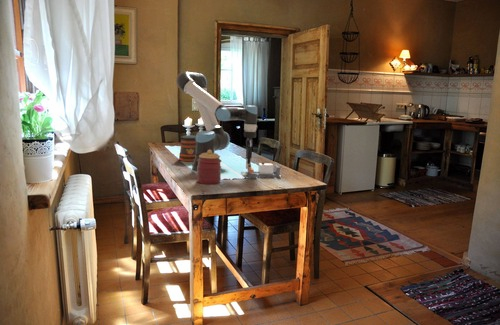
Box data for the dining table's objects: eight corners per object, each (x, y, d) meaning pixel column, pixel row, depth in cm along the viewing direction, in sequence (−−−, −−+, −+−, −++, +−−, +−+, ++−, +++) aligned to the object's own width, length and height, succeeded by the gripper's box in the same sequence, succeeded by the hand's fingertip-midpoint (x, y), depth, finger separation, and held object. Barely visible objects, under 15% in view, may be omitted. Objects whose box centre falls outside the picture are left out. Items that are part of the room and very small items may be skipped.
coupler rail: (244, 178, 221) (245, 169, 220) (241, 172, 236) (241, 163, 235) (281, 179, 224) (282, 169, 223) (276, 173, 239) (276, 164, 238)
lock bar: (250, 174, 226) (250, 167, 225) (247, 170, 238) (247, 163, 237) (253, 174, 226) (253, 168, 226) (250, 170, 238) (250, 164, 237)
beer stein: (203, 157, 279) (204, 130, 275) (208, 161, 265) (209, 132, 262) (177, 158, 273) (178, 130, 269) (180, 162, 259) (181, 132, 255)
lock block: (259, 174, 230) (260, 163, 229) (258, 172, 235) (258, 161, 234) (272, 175, 231) (273, 163, 230) (270, 173, 237) (271, 162, 235)
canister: (222, 184, 204) (223, 151, 201) (197, 184, 202) (198, 151, 198) (218, 178, 217) (220, 147, 214) (195, 178, 214) (196, 147, 211)
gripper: (257, 132, 230) (255, 170, 235) (254, 130, 243) (252, 166, 247) (245, 131, 229) (243, 170, 234) (242, 129, 242) (240, 166, 246)
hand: (248, 168), depth 241 cm, fingers closed
